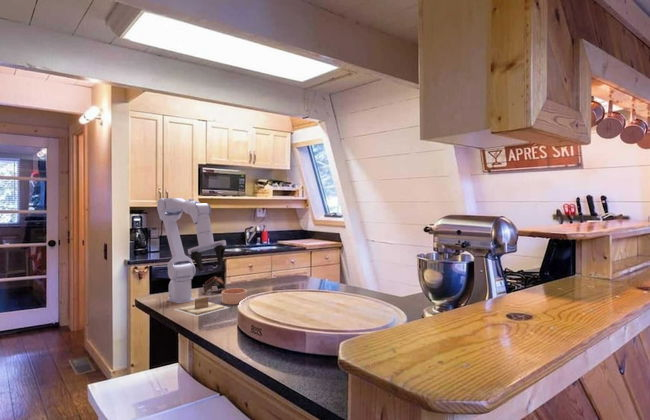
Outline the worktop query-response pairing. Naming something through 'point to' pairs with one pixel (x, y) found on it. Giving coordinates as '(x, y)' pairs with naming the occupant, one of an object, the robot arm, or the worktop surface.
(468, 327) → the worktop surface
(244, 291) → the terracotta bowl
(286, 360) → the worktop surface
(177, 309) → the grey mat
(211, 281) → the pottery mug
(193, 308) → the birch lid
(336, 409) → the worktop surface
